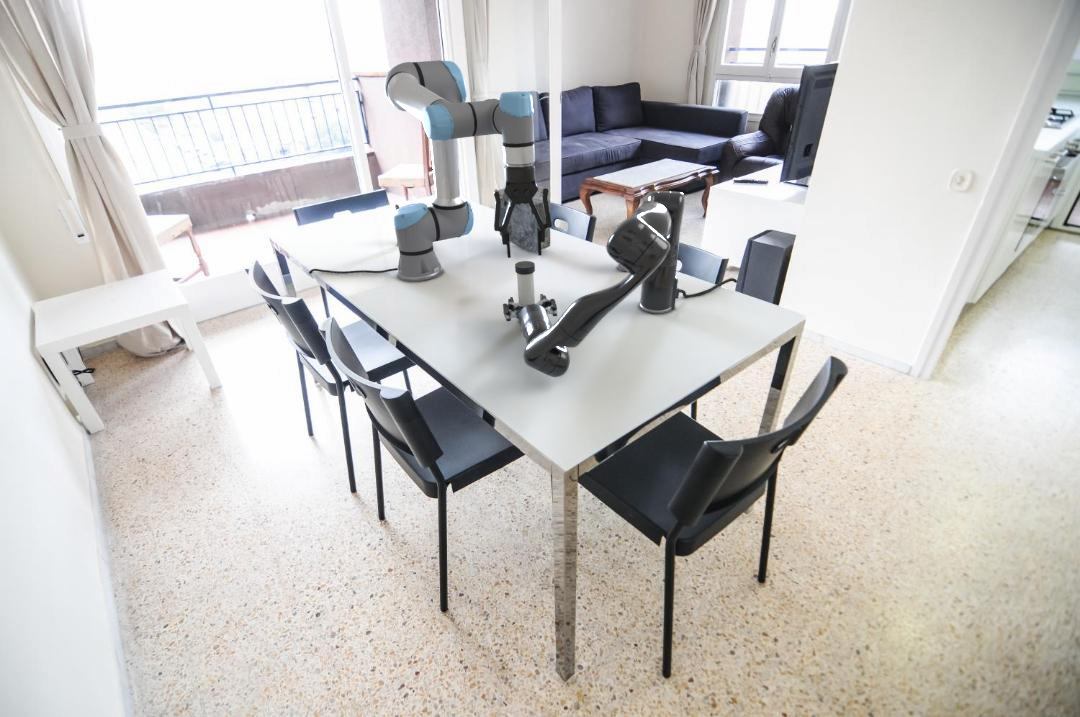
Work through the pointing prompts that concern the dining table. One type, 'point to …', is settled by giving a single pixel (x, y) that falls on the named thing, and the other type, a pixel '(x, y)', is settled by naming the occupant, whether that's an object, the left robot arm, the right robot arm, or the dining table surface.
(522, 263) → the lid
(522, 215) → the concrete block
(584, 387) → the dining table surface
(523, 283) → the cylinder
